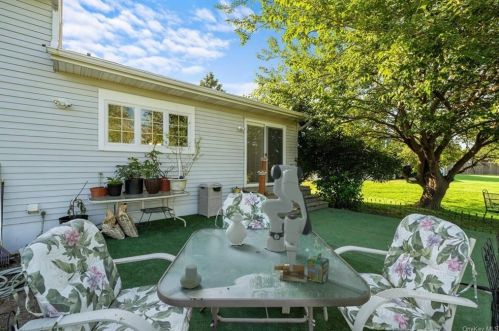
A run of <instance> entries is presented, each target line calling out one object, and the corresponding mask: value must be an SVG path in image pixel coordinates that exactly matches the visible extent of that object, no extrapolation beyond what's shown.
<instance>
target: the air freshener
mask: <svg viewBox="0 0 499 331" xmlns="http://www.w3.org/2000/svg"><path fill="white" fill-rule="evenodd" d="M202 282H203V281H202V276H201V275H200V274H199V273H198V266H197V265H196V264H189V265H186V266H185V273H184V274H182V276H181V277H180V279H179V283H180V285H181V287H183V288H186V289H189V290H190V289H193V288H196V287H198V286H200V284H201V283H202Z"/></svg>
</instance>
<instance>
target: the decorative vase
mask: <svg viewBox="0 0 499 331" xmlns="http://www.w3.org/2000/svg"><path fill="white" fill-rule="evenodd" d="M242 215H243V214H242V212H233V213H232V216H231V221H232V223H231V224H229V226H228V227H227V229H226V231H225V236H226V237H227V239H228V240H229V243H230V244H231V245H241V244H242V242H243V243H244V240H246V238H247V236H248V233H249V232H248V228H247V227H246V226H245V224H243V222H242V221H243V220H244V217H243V216H242ZM231 245H230V246H231Z"/></svg>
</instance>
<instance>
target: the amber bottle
mask: <svg viewBox="0 0 499 331" xmlns="http://www.w3.org/2000/svg"><path fill="white" fill-rule="evenodd" d="M273 265H274V266H273V269H274V270H273V271H280V270H282V271H283V270H287V273H291V274H299V271H303V272H304V274H305V272H306V271H305V269H306V267H305V264H296V263H295V265H293V271H290V266H289V265H288V263H282V265H279V264H273Z"/></svg>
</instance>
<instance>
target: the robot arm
mask: <svg viewBox="0 0 499 331" xmlns="http://www.w3.org/2000/svg"><path fill="white" fill-rule="evenodd" d="M270 176H271V178H272V179H274V182H273V188H272V193H273V194H274V195H275V196H276V197H277V198H268V199H264V200H263V201H262V202H261V204H260V205H261V206H260V207H261V210H262V212H263V213H264V214H265V215H266V216H267V217H268V220H269V230H268V237H266V245H265V246H264V248H263V249H265V248H266V249H265V250H268V251H270V252H275V253H282V252H285V250H286V254H287V255H286V257H287V258H286V259H287V264H288V265H289V266H290V271H293V265H295V264H296V261H297V252H298V250H299V248H300V235H302V236H303V235H304V236H308V235H309V234H311V233H312V231H313V224H312V221H311V217H310V213H309V209H308V205H307V199H306V197H305V194H304V192H302V191H301V190H300V186H299V181H300V180H301V179H302V177H303V169H302V168H301V167H300V166H298V165H297V166H296V165H291V164H289V165H288V164H286V165H285V164H273V166H272V167H271V170H270ZM293 202H294V203H297V205H299V207H300V211H301V217H299V215H297V214H294V213H291V212H292V211H293V208H294V204H293ZM287 213H289V214H287ZM278 214H286V215H285V217H284V218H283V219H282V218H281V217H279V216H278Z"/></svg>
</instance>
